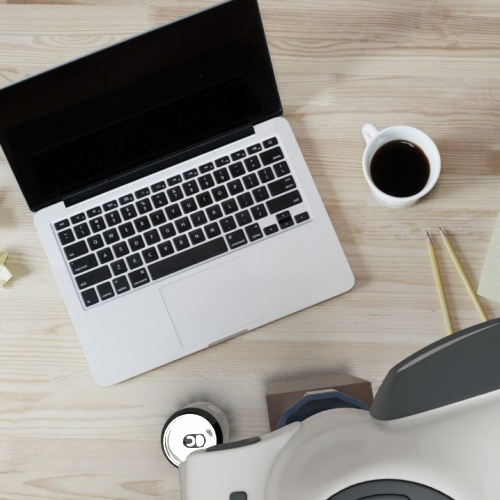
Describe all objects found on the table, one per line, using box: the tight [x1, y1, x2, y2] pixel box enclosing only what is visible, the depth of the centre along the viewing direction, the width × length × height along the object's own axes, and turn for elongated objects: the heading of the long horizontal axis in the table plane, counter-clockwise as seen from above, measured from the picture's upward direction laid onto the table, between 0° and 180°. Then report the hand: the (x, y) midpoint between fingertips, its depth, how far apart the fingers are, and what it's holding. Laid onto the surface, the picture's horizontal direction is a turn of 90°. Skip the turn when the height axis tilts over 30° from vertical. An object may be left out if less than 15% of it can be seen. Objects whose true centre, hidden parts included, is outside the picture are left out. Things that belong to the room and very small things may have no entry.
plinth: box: [265, 372, 374, 433], centre depth 73 cm, size 9×9×27 cm
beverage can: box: [160, 401, 231, 470], centre depth 81 cm, size 7×7×12 cm
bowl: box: [274, 388, 370, 431], centre depth 57 cm, size 9×9×5 cm
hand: (332, 456), depth 51 cm, fingers open, 8 cm apart
